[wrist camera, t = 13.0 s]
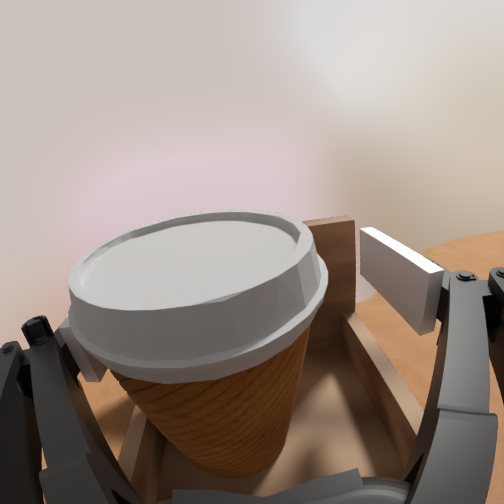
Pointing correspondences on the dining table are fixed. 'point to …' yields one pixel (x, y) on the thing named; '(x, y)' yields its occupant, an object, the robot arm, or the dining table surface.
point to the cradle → (308, 402)
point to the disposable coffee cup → (205, 328)
